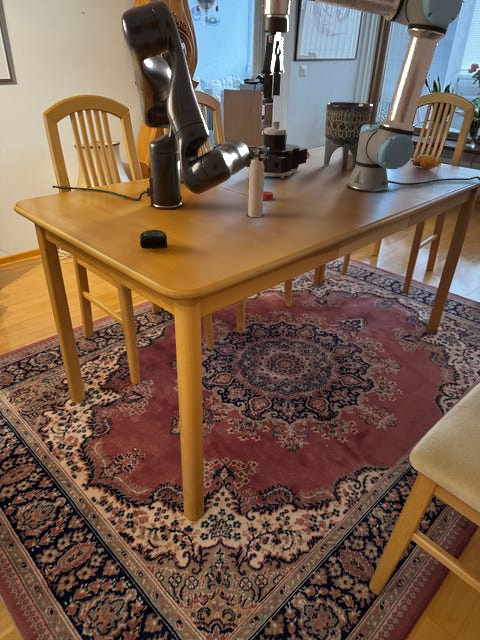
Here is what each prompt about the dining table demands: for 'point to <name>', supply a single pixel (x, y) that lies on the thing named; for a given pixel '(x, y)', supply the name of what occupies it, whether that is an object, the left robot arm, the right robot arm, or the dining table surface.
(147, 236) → the tape measure
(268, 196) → the cap
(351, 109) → the planter
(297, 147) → the mechanical component
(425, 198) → the dining table surface
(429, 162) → the toy
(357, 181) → the right robot arm
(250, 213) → the bottle
